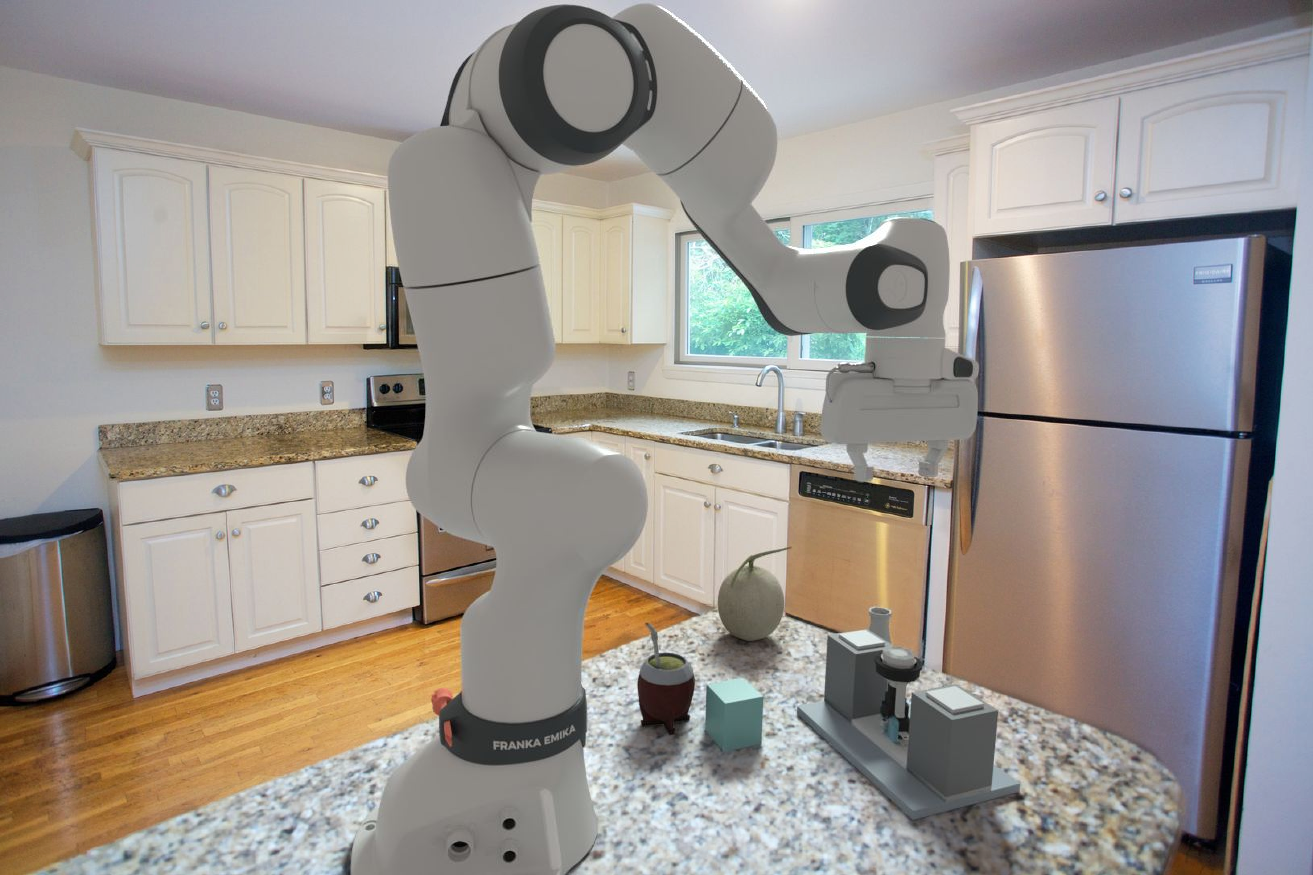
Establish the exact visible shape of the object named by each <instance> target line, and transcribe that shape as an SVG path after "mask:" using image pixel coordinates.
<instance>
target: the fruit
mask: <svg viewBox="0 0 1313 875" xmlns="http://www.w3.org/2000/svg"><path fill="white" fill-rule="evenodd" d="M790 549H792V546H787V547H784V548H779V549H773V550H769V551H764V552H759V553H755V554H753V555H749V556H748V557H747V558H746V559H745V560H744V561H743V562H742V563H741V565H740V566H739V567H738V568H736V569H735V570H733V571H731V572H730V573H729V574H728V575H726V576H725V577H724V579H723V581H722V583H721V585H720V588H719V590H718V595H717V611H718V616H719V618H720V621H721V624H722V626H724V629H725V630H726V631H727V632H728V633H729V634H730V635H732V636H734V637H736V638H738V639H741V640H743V641H747V642H748V641H749V642H752V641H759V640H762V639H765V638H767V637H768V636H770V635H771V634H773V633H774V632H775V631H776V629H777V628H778V627H779V625H780V623H781V621H782V618H783V615H784V611H785V596H784V591H783V587H782V585H781V583H780V581H779V580H778V578H777V577H776V576H775V575H774V574H773V573H772V572H770V571H769V570H767V569H766V568H763V567H760V566H757V565H754V562H755V561H756V559H759V558H762V557H764V556H767V555H772V554H776V553H780V552H783V551H787V550H790ZM747 564H748V565H747Z"/></svg>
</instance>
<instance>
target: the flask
mask: <svg viewBox="0 0 1313 875" xmlns="http://www.w3.org/2000/svg"><path fill="white" fill-rule="evenodd" d="M892 612H893V611H892V609H888V608H886V607H882V606H872V607H869V608H868V615H869V616H870V619H869V620H870V622H869V626H868V629H867V630H869V631H871V632H872V633H874V634H876V635H877V636H879V637H880V638H882V639H884V640H885V641H887V642H889V643H890V644H892V645H893V641H892V638H891V632H890V618H892V615H893V613H892Z"/></svg>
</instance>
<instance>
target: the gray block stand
mask: <svg viewBox="0 0 1313 875" xmlns="http://www.w3.org/2000/svg"><path fill="white" fill-rule="evenodd" d="M826 637H827V639H826V640H827V641H826V654H825V656H826V658H825V659H826V660H825V675H824V693H823V695H824V696H823V700H822V701H816V702H810V703H805V704H800V705H796V708H797V709H796V714H797V715H799V717H800V718H801V719H802V720H804V721H805V722H806V723H807V724H808V725H809V726H810V727H811V728H812V729H814V730H815V731H816V733H818V734H819V735H820V736H821V737H822V738H823V739H824V740H825V741H826V742H828V744H830V745H831V746H832V747H833V748H834V749H836V751H838V752H839V754H841V755H842V756H843V757H844V758H845V759H846V760H847V761H848V762H849V763H850V764H851V765H853V766H854V767H855V768H856V769H857V770H858V771H859V772H860V773H861V774H863V776H865V777H866V778H867V780H868V781H869V782H871V783H872V784H873V785H874V786H875V787H876V788H877V789H878V790H879V791H881V792H882V793H883V794H884V795H885V796H886V797H887V798H889V800H891V801H892V802H893V804H895V805H896V806H897V807H898V808H899V809H900V810H901V811H902V812H903V813H905V815H906V816H908V817H909V818H910V819H911V820H912V821H915V820H919V819H922V818H925V817H931V816H934V815H937V814H942V813H944V812H945V813H946V812H948V811H949V812H950V811H952V810H955V809H960V808H965V807H969V806H972V805H974V804H980V803H982V802H987V801H991V800H995V799H997V798H999V799H1000V798H1001V797H1005V796H1010V795H1014V794H1017V793H1020V790H1021V782H1019V781H1018V780H1017V779H1015V778H1013V777H1012V776H1011V775H1009V774H1008V773H1007V772H1005V771H1004V770H1002V769H1001V768H999V767H998V766H997V765H995V753H996V752H995V750H996V743H997V742H996V741H997V728H998V721H999V709H997V708H995V707H994V706H992V705H991V704H989V703H987V702H986V701H984V700H983V699H981V698H980V697H977V696H976V695H974V694H973V693H971V692H969V691H968V690H966V689H965V688H963V687H961V686H960V685H959V684H956V683H955V684H949V685H944V686H939V687H934V688H928V689H923V690H917V691H911V699H910V704H909V703H908V705H909V714H908V717H909V718H910V724H909V735H908V736H909V738H908V748H903V746H902V745H901V743H892V741H891V740H890V738H889V736H888V735H887V733H886V732H885V730H883V734H882V733H881V731H880V707H881V703H882V701H885V692H887V680H886V679H884V678H883V677H882V676H881V675H880V674H878V673H877V672H876V664H875V662H874V657H875V655H876V654H877V653H880V652H883V649H884V648H886V647H890V646H894V644H893V643H892V644H890V643H889V642H887V641H885V640H884V639H882V638H880V637H879V636H877V635H876V634H874V633H872V632H871V631H869V630H868V629H867V628H866V629H858V630H853V631H852V630H851V631H842V632H838V633H830V634H827V636H826ZM881 729H882V726H881ZM904 745H905V744H904ZM905 746H907V745H905Z"/></svg>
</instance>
